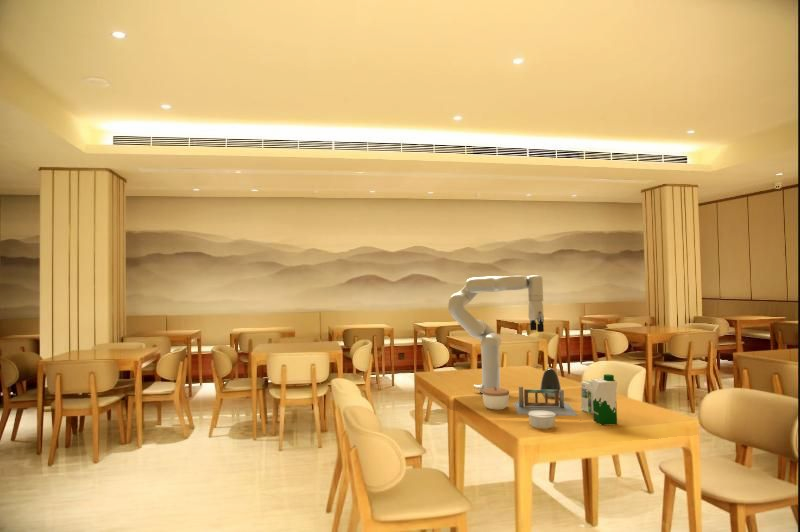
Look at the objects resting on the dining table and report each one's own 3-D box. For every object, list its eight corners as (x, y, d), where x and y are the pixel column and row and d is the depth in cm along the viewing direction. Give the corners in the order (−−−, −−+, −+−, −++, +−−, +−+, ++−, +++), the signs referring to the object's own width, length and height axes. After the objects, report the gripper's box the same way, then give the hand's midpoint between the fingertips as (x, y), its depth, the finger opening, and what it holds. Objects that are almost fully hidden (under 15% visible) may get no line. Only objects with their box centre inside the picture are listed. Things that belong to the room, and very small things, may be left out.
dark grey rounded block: (562, 396, 274) (561, 367, 274) (559, 400, 264) (558, 370, 265) (542, 395, 278) (541, 366, 279) (538, 399, 269) (538, 369, 269)
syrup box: (581, 413, 239) (580, 381, 240) (591, 412, 242) (590, 380, 242) (589, 416, 234) (589, 383, 234) (600, 414, 236) (599, 382, 237)
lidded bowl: (493, 414, 240) (493, 390, 240) (477, 408, 251) (476, 385, 252) (515, 410, 246) (514, 387, 246) (498, 405, 257) (497, 382, 257)
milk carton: (620, 425, 220) (619, 376, 220) (599, 425, 219) (598, 377, 219) (610, 419, 228) (609, 373, 229) (590, 420, 228) (589, 373, 228)
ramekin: (544, 431, 213) (543, 418, 213) (522, 425, 222) (522, 412, 222) (561, 426, 219) (561, 413, 219) (540, 421, 228) (539, 408, 228)
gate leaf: (524, 405, 248) (524, 390, 248) (524, 405, 250) (524, 389, 250) (558, 406, 246) (558, 390, 246) (558, 405, 247) (558, 389, 248)
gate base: (517, 417, 235) (517, 393, 235) (513, 404, 258) (513, 383, 259) (578, 418, 231) (577, 394, 231) (568, 405, 255) (567, 383, 255)
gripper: (523, 298, 287) (524, 329, 287) (535, 299, 270) (536, 332, 269) (536, 297, 288) (537, 329, 288) (549, 298, 271) (550, 332, 270)
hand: (537, 330), depth 279 cm, fingers open, 9 cm apart
